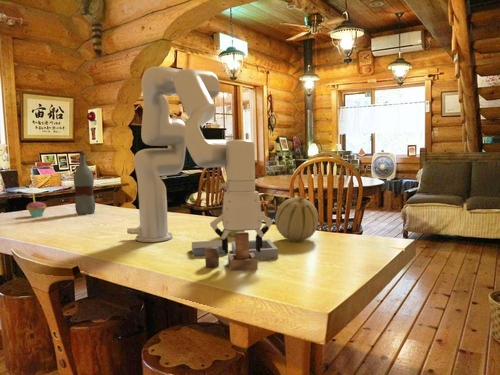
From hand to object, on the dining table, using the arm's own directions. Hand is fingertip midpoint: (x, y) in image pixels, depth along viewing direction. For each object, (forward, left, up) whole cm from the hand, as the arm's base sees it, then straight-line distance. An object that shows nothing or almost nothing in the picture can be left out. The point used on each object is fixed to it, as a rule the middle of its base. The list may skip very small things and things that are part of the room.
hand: (242, 251), depth 110 cm
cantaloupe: (+22, +26, -4) cm, 34 cm away
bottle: (-64, +105, -4) cm, 123 cm away
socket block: (0, 0, -4) cm, 4 cm away
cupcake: (-86, +103, -4) cm, 134 cm away
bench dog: (-8, +2, -4) cm, 9 cm away
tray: (+5, +12, -4) cm, 13 cm away
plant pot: (+3, +40, -4) cm, 40 cm away
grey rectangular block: (-8, +17, -4) cm, 19 cm away
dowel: (0, 0, -4) cm, 4 cm away
